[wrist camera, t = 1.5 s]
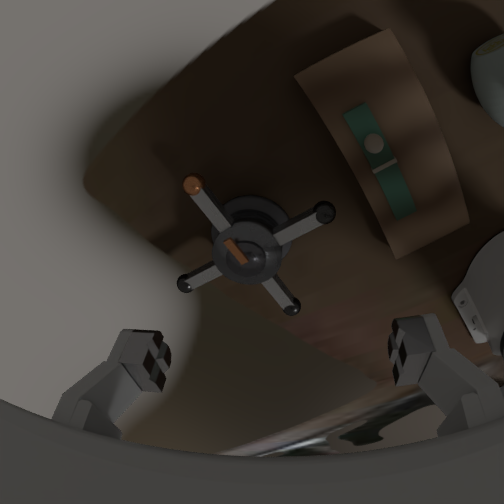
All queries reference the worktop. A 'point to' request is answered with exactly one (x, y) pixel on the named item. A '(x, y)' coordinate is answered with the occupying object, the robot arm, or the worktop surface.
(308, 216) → the capstan
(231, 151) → the worktop surface
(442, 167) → the level stand
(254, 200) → the pedestal
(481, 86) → the air freshener
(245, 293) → the worktop surface
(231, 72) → the worktop surface
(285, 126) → the worktop surface
